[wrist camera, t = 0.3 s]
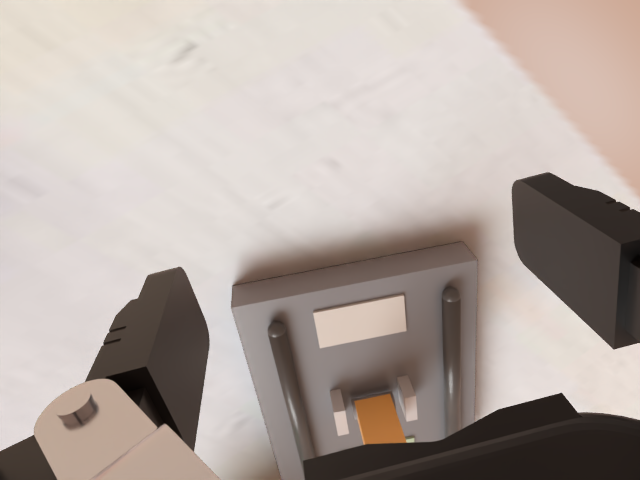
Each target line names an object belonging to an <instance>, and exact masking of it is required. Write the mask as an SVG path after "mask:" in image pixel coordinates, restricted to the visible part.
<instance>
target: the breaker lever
mask: <svg viewBox="0 0 640 480" xmlns="http://www.w3.org/2000/svg"><path fill="white" fill-rule="evenodd" d="M351 405H352V410H353V414H354V418H355V420H356V419H357V420H358V424H359V428H360V432H361V436H362V440H363V444H364V445H365V444H381V443H407V442H406V439H405V436H404V433H403V430H402V427H401V424H400V421H399V418H398V415H397V412H396V404H395V399H394V396H393V393H392V391H389V392H384V393H379V394H374V395H369V396H365V397H360V398H355V399H351Z"/></svg>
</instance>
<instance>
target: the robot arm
mask: <svg viewBox="0 0 640 480" xmlns="http://www.w3.org/2000/svg"><path fill="white" fill-rule="evenodd" d="M512 206H513V227H514V243H515V247H516V251H517V253H518V256H519V258H520V260H521V261H522V263H523V264H524V265H525V266H526V267H527V268H528V269H529V270H530V271H531V272H532V273H533V274H535V275H536V276H537V277H538V278H539V279H540V280H541V281H542V282H543V283H544V284H545V285H546V286H547V287H548V288H549V289H550V290H551V291H553V292H554V293H555V294H556V295H557V296H558V297H559V298H560V299H561V300H562V301H563V302H564V303H565V304H566V305H567V306H568V307H569V308H571V309H572V310H573V311H574V312H575V313H576V314H577V315H578V316H579V317H580V318H581V319H582V320H583V321H584V322H585V323H586V324H587V325H589V326H590V327H591V328H592V329H593V330H594V331H595V332H596V333H597V334H598V335H599V336H600V337H601V338H602V339H603V340H604V341H605V342H607V343H608V344H609V345H610V346H611V347H612V348H613V349H617V348H621V347H625V346H629V345H633V344H636V343H640V212H638V211H636V210H634V209H632V210H630V207H628V206H626V205H624V204H622V203H621V202H616V200H615V199H613V198H611V197H609V196H607V195H605V194H603V193H601V192H599V191H596V190H592V189H587V188H583V187H578V186H574V185H572V184H570V183H568V182H566V181H564V180H563V179H561V178H559V177H557V176H555V175H553V174H552V173H549V172H547V173H543V174H539V175H535V176H531V177H527V178H524V179H520V180H516V181H515V182H514V184H513V187H512ZM109 332H110V333H108V334H107V336H106V338H105V340H104V342H103V343H104V346H102V347H101V349H100V351H99V353H98V355H97V357H96V359H95V361H94V364H93V366H92V368H91V370H90V372H89V374H88V376H87V379H86V381H85V382H84V383H82V384H79V385H77V386H75V387H73V388H71V389H69V390H68V391H66V392H64V393H63V394H61V395H60V396H59V397H57V398H56V399H55V400H54V401H52V402H51V403H50V404H49V405H48V406H47V407H46V408H45V410H44V411H43V412H42V413H41V415H40V416H39V418H38V419H37V421H36V423H35V427H34V435H33V436H31V437H29V438H27V439H25V440H23V441H21V442H19V443H17V444H14V445H12V446H10V447H8V448H6V449H4V450H2V451H0V480H221V479H220V478H219V477H218V476H217V475H216V474H215V473H214V472H213V471H212V470H211V469H210V468H209V467H208V466H207V465H206V464H205V463H204V462H203V461H202V460H201V459H200V458H199V457H198V456H197V455H196V454H195V453H194V447H195V441H196V434H197V427H198V420H199V413H200V406H201V399H202V393H203V386H204V379H205V372H206V365H207V358H208V351H209V333H208V328H207V324H206V321H205V318H204V316H203V313H202V311H201V309H200V306H199V304H198V301H197V299H196V296H195V294H194V292H193V289H192V287H191V284H190V282H189V279H188V277H187V275H186V273H185V271H184V270H183V269H182V268H181V267H177V268H173V269H169V270H165V271H161V272H157V273H154V274H150V275H148V276H147V278H146V280H145V283H144V285H143V288H142V290H141V292H140V295H139V297H138V299H134V300H131V301H130V302H129V303H128V304H127V305H126V306H125V307H124V308H123V309H122V310H121V311H120V312H119V313H118V314H117V315H116V317H115V319H114V321H113V323H112V325H111V327H110V329H109ZM303 466H304V476H305V480H640V420H637V419H632V418H628V417H624V416H618V415H611V414H604V413H588V412H582V413H577V411H576V410H575V409H574V408H573V406H572V405H571V404H570V403H569V401H568V400H567V399H566V398H565V396H564V395H563V394H562V393H559V394H556V395H552V396H548V397H544V398H540V399H537V400H533V401H529V402H525V403H521V404H518V405H514V406H510V407H506V408H502V409H498V410H497V411H495V412H493V413H491V414H489V415H487V416H485V417H484V418H482V419H480V420H478V421H476V422H474V423H472V424H470V425H469V426H467V427H465V428H463V429H461V430H459V431H457V432H456V433H454V434H452V435H450V436H448V437H446V438H444V439H442V440H439V441H433V442H409V443H381V444H365V445H361V446H357V447H353V448H350V449H346V450H342V451H338V452H334V453H331V454H327V455H323V456H319V457H315V458H312V459H308V460H304V461H303Z"/></svg>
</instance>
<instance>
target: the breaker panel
mask: <svg viewBox="0 0 640 480" xmlns="http://www.w3.org/2000/svg"><path fill="white" fill-rule="evenodd" d="M477 266H478V260H477V259H476V257H475V256H474V255H473V254H472V252H471V251H470V250H469V249H468V248H467V246H466V245H465V244H464V243H463V241H462V242H457V243H452V244H447V245H442V246H437V247H431V248H426V249H421V250H416V251H411V252H405V253H400V254H395V255H390V256H385V257H380V258H374V259H369V260H364V261H359V262H354V263H348V264H343V265H338V266H333V267H328V268H323V269H317V270H312V271H307V272H302V273H297V274H291V275H286V276H281V277H276V278H271V279H265V280H260V281H255V282H250V283H245V284H240V285H234V286H232V301H231V309H232V313H233V316H234V320H235V323H236V326H237V330H238V333H239V337H240V340H241V343H242V347H243V350H244V354H245V357H246V360H247V364H248V367H249V371H250V374H251V377H252V381H253V384H254V388H255V391H256V394H257V398H258V401H259V405H260V408H261V411H262V415H263V418H264V421H265V425H266V428H267V432H268V435H269V438H270V442H271V445H272V449H273V452H274V455H275V459H276V462H277V466H278V469H279V472H280V476H281V479H282V480H305V476H304V466H303V461H304V460H308V459H312V458H315V457H319V456H323V455H327V454H331V453H334V452H338V451H342V450H346V449H350V448H353V447H357V446H361V445H364V444H363V440H362V436H361V432H360V428H359V424H358V420H357V419H356V420H355V418H354V414H353V410H352V405H351V399H355V398H360V397H365V396H369V395H374V394H379V393H384V392H389V391H392V393H393V396H394V399H395V404H396V412H397V415H398V418H399V421H400V424H401V427H402V430H403V433H404V436H405V439H406V442H407V443H409V442H433V441H439V440H442V439H444V438H446V437H448V436H450V435H452V434H454V433H456V432H457V431H459V430H461V429H463V428H465V427H467V426H469V425H470V424H472V423H474V413H475V364H476V315H477Z"/></svg>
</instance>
